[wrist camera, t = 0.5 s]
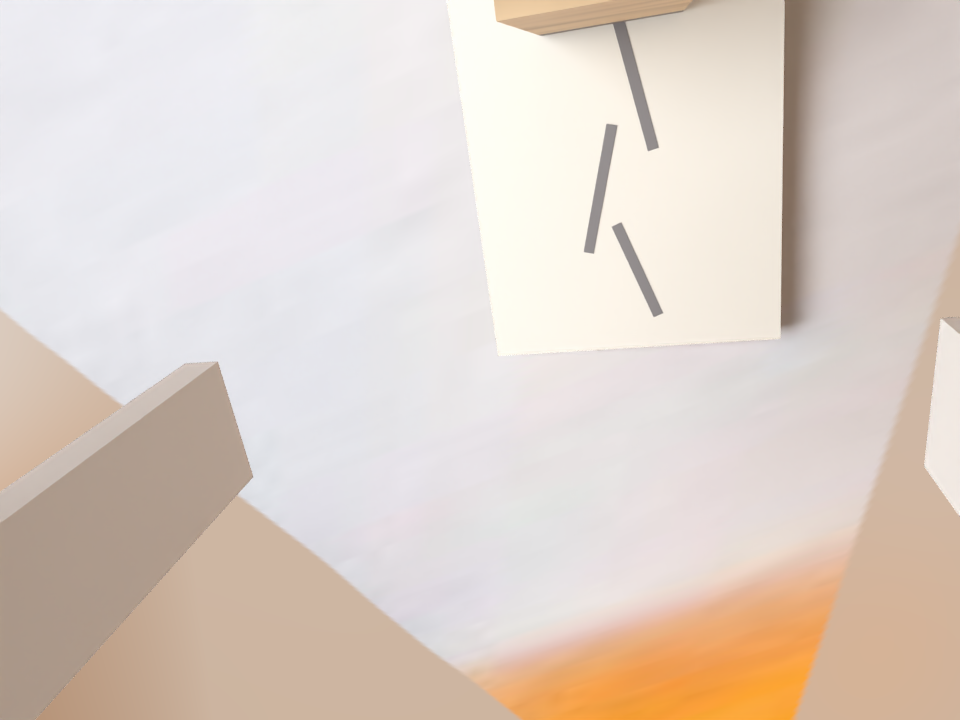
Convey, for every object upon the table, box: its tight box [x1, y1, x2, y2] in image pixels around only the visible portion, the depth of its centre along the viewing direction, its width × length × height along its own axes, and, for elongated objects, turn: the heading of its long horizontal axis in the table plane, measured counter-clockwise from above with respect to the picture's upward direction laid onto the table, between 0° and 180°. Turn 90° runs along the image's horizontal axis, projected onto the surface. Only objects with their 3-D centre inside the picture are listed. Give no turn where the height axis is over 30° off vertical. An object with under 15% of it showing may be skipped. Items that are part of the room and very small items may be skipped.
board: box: [447, 0, 785, 356], centre depth 32 cm, size 24×14×2 cm, turn 8°
